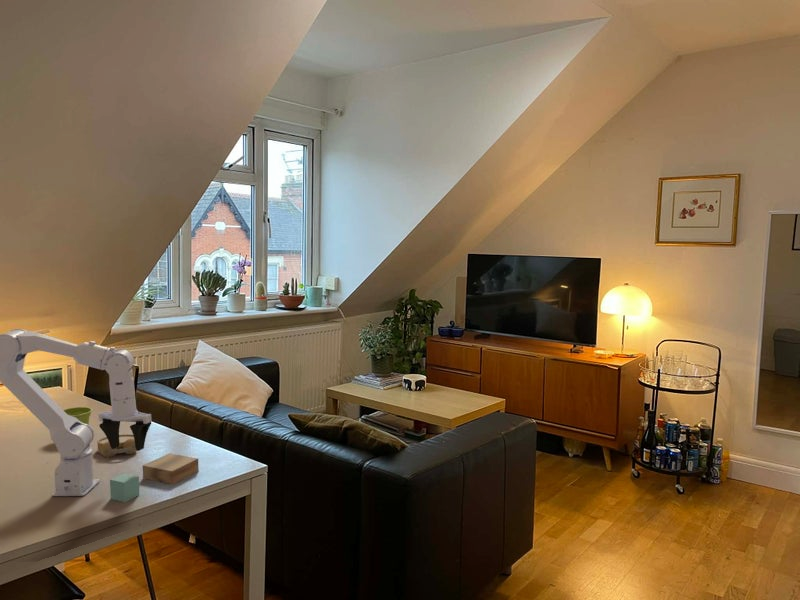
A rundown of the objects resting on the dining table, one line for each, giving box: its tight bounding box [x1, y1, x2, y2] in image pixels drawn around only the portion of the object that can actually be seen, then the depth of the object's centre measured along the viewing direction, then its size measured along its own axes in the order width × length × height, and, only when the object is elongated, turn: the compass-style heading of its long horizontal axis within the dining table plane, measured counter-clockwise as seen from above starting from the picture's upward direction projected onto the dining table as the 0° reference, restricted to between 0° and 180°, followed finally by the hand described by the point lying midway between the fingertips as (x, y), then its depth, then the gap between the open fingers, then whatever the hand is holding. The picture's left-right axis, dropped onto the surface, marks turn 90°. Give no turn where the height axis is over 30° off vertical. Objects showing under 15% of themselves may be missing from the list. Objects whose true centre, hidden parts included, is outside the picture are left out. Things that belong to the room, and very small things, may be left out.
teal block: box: [109, 472, 140, 503], centre depth 152 cm, size 5×5×5 cm
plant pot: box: [62, 406, 93, 426], centre depth 196 cm, size 9×9×9 cm
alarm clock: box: [96, 433, 137, 458], centre depth 184 cm, size 11×5×15 cm
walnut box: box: [142, 452, 199, 485], centre depth 167 cm, size 10×10×4 cm
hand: (127, 448), depth 159 cm, fingers open, 7 cm apart
